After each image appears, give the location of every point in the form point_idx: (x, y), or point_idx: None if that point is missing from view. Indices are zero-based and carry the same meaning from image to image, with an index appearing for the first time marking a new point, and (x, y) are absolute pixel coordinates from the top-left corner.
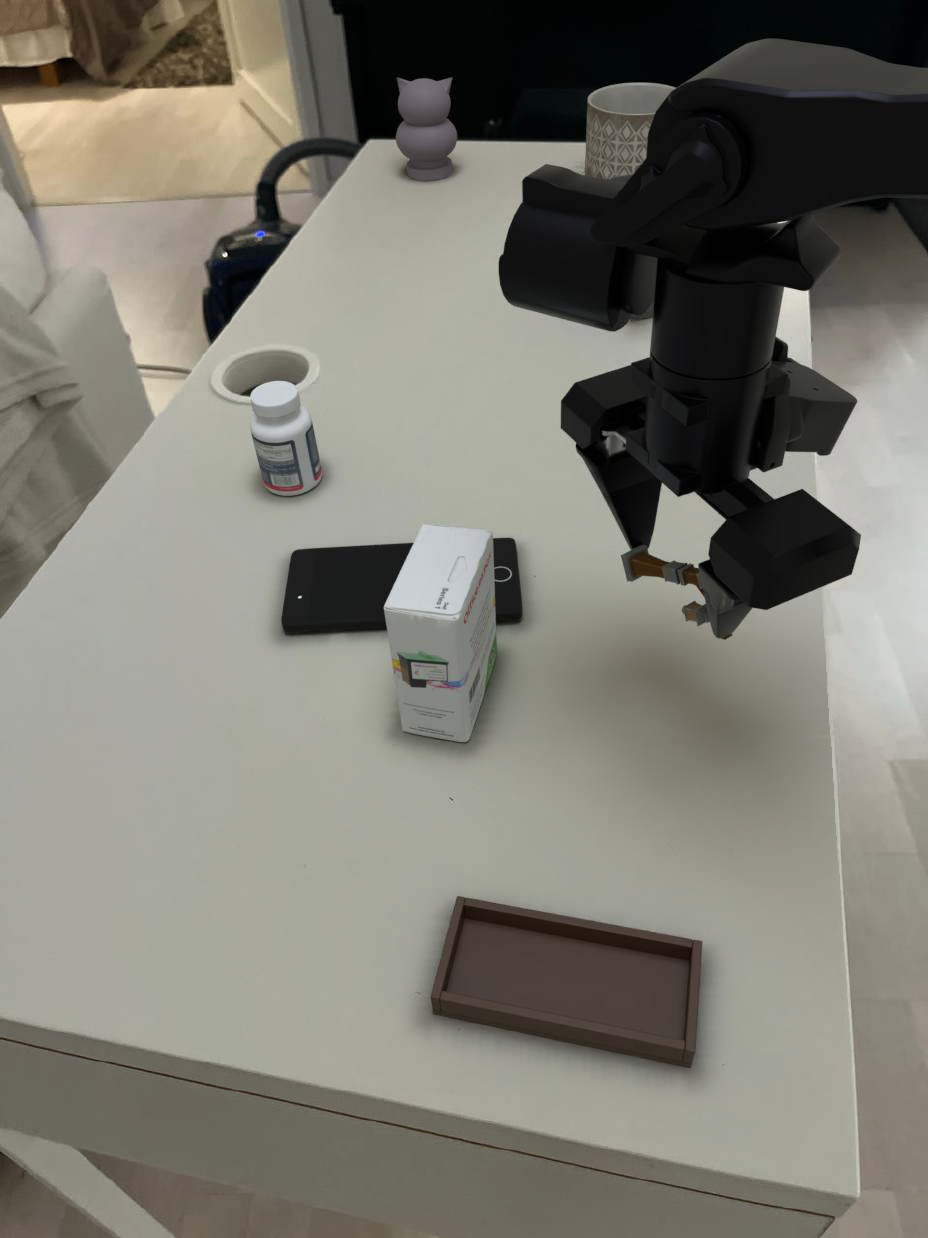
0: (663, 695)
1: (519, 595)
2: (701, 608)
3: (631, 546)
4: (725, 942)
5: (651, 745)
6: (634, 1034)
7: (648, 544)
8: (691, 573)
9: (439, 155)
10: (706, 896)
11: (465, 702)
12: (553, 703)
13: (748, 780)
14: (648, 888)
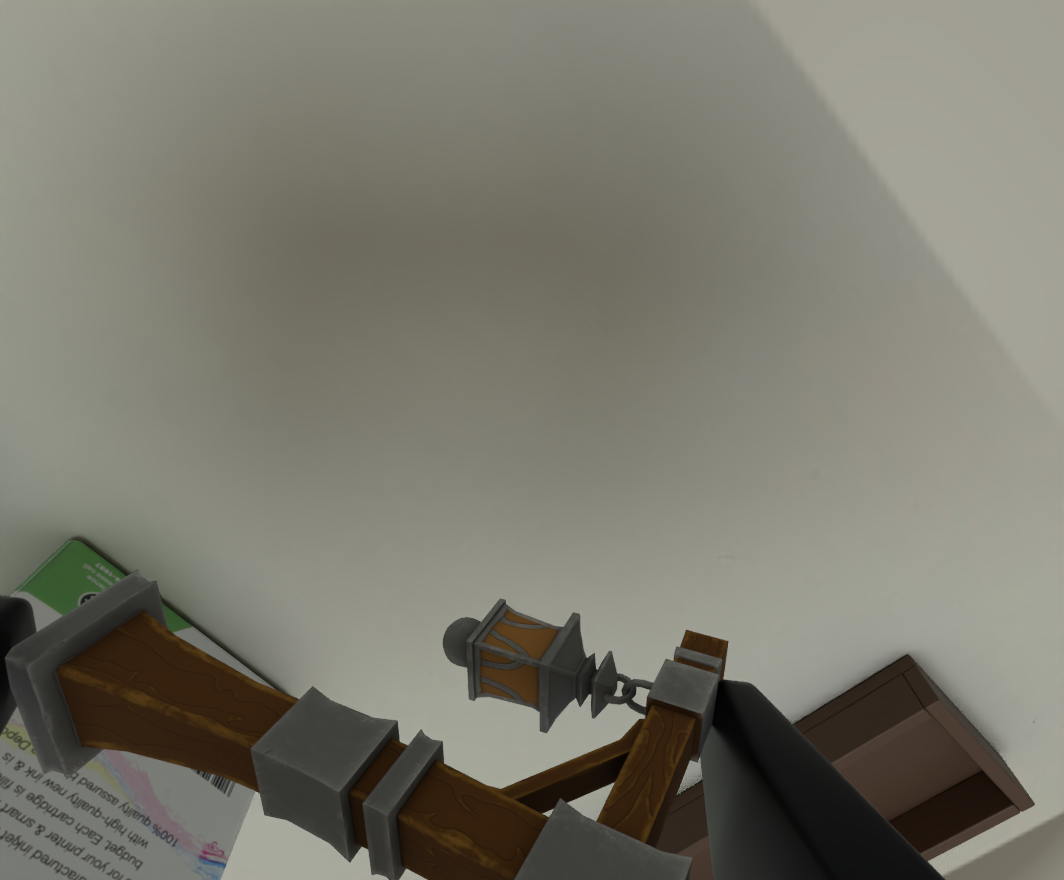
0: (399, 298)
1: None
2: (553, 703)
3: (4, 727)
4: (926, 603)
5: (510, 426)
6: (948, 845)
7: (8, 617)
8: None
9: None
10: (846, 573)
11: (246, 800)
12: (281, 519)
13: (729, 319)
14: (759, 635)
